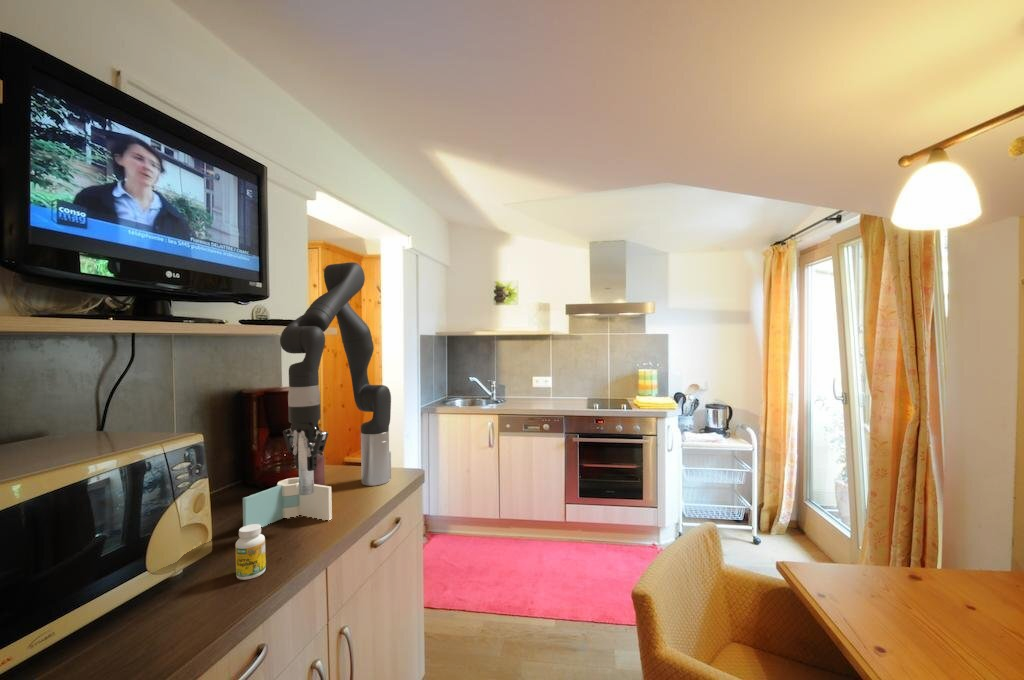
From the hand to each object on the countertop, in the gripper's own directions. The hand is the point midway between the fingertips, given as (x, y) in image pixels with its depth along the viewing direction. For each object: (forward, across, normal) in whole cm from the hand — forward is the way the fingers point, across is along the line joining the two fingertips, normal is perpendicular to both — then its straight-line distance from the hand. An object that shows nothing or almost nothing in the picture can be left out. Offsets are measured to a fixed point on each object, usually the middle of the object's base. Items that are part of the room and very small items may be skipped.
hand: (306, 469), depth 115 cm
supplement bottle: (+15, -7, +21) cm, 27 cm away
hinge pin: (+6, 0, 0) cm, 6 cm away
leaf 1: (+15, +12, 0) cm, 20 cm away
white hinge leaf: (+15, +7, -6) cm, 18 cm away
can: (+16, +14, -16) cm, 27 cm away
